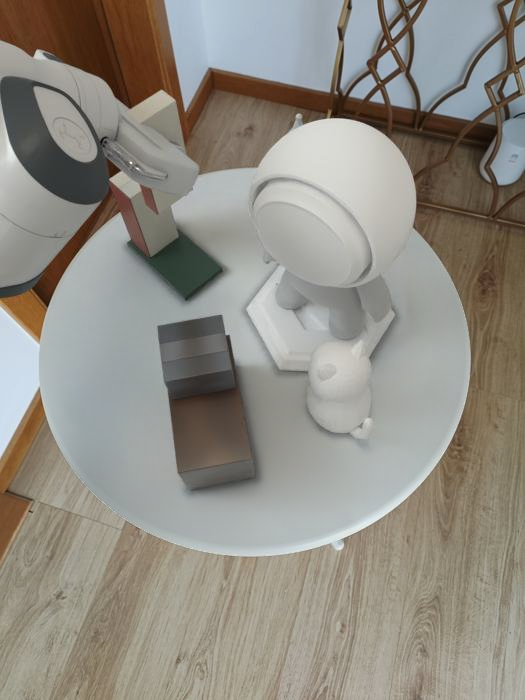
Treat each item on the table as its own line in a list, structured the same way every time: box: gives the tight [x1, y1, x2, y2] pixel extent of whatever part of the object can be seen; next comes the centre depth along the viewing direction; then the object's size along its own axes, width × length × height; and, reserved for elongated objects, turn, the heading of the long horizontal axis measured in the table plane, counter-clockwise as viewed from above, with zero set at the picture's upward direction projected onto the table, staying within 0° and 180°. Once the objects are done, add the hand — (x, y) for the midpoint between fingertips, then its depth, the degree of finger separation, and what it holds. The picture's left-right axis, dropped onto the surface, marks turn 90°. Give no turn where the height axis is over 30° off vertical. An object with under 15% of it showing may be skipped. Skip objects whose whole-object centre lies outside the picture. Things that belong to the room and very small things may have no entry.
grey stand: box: [156, 314, 256, 491], centre depth 69 cm, size 9×17×16 cm, turn 11°
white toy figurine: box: [245, 117, 417, 373], centre depth 67 cm, size 20×23×35 cm
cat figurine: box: [305, 340, 376, 440], centre depth 69 cm, size 9×12×15 cm
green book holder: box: [109, 170, 224, 302], centre depth 82 cm, size 8×15×15 cm, turn 44°
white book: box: [127, 89, 194, 215], centre depth 65 cm, size 6×2×14 cm, turn 134°
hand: (168, 144), depth 65 cm, fingers closed on white book, 2 cm apart
